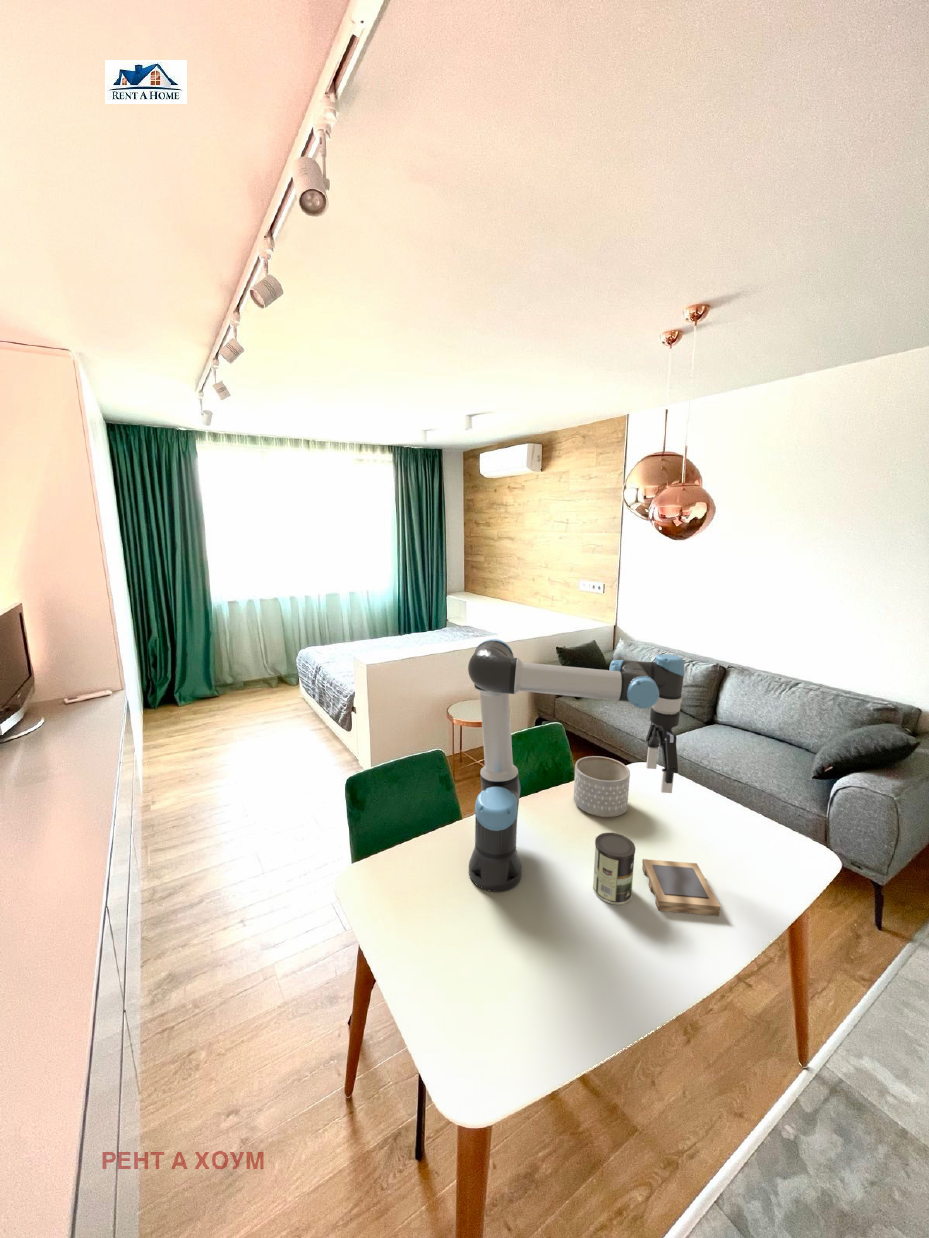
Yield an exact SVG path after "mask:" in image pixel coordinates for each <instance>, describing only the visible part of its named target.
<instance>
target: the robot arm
mask: <svg viewBox="0 0 929 1238" xmlns="http://www.w3.org/2000/svg"><path fill="white" fill-rule="evenodd" d="M467 668H468V669H467V671H468V675H469V679H470V680H471V682H472V683H473V684H474V685H473V686H474V689H475V690H477V692H479V696H480V697H479V698H480V710H481V711H480V713H481V727H482V728H481V729H482V743H483V745H482V746H483V757H484V758H483V759H484V761H483V762H484V766H483V767H482V768H480V772H479V773H480V787H481V788H480V789H481V790H480V791H481V792H480V793H478V795H477V797H476V799H475V806H474V813H475V827H474V828H475V829H474V832H475V834H474V835H475V836H474V842H475V843H474V849H473V850H472V853H471V857H470V858H469V862H468V876H470V877H469V879H470V878H471V879H472V880H473V882H474V883H476V884H477V885H478V886H480V887H482V888H483V889H482V888H481V889H482V890H484V889H486V890H485V891H487V890H490V891H489V892H495V893H496V892H506V891H509V890H512V889H513V888H515V887H516V886H517V885H519V883H520V881H521V879H522V871H523V870H522V863H521V860H520V857H519V853H518V851H517V830H518V829H517V827H518V826H517V825H518V814H519V805H520V796H521V791H522V789H521V783H520V782H521V781H520V780H519V779H520V778H519V769H518V767H517V766H516V765H514V762H513V761H514V760H513V747H512V745H513V742H512V728H511V725H512V724H511V710H510V708H511V706H510V695H517V694H518V693H519V692H529V693H538V694H548V695H557V696H558V695H559V696H566V697H567V696H568V697H577V698H587V699H597V700H598V699H599V700H607V701H609V700H610V701H616V702H626V703H630V704H631V705H633V706H634V707H636V708H638V709H648V708H651V709H650V713H649V714H650V715H649V721H650V725H649V729H648V732H647V735H646V738H645V741H646V743H647V746H648V747H647V756H646V766H645V767H646V769H652V770H656V769H657V767H658V766H657V765H658V764H657V763H658V753H659V748H660V747H661V752H662V753H661V754H662V761H663V767H664V768H662V769H661V772H662V774H661V784H660V785H661V787H660V792H661V793H662V794H672V793H673V788H674V787H673V785H674V776H675V775H674V774H679V765H678V751H677V749H678V748H677V735H676V734H674V733H673V728H675V727H678V726H679V723H680V716H681V715H680V711H681V704H682V703H683V699H682V694H683V693H682V692H683V686H684V678H685V660H684V659H683V658H682V657H681V656H679V655H675V654H668V653H664V654H657V655H656V656H655V659H654V661H639V660H626V659H618V660H617V659H615V660H614V659H613V660H612V661H611V662H610V665H609V670H608V669H596V668H589V667H588V668H586V667H577V666H565V665H558V664H557V665H556V664H555V665H554V664H544V663H534V662H523V661H522V660H521V659H520V657H519V658H518V657H515V656H514V653H513V651H512V648H511V647H510V645H509V644H508V643H506V642H505V641H503V640H500V639H497V638H489V639H486V640H485V641H483V642H481V643H479V644H478V645H477V646H476V648H475V650H474V653H473V654H472V656H471V657H470V659H469V662H468V666H467ZM471 879H470V880H471ZM472 880H471V881H472ZM473 882H472V883H473ZM474 883H473V884H474ZM477 885H476V886H477ZM478 886H477V887H478ZM480 887H479V888H480Z"/></svg>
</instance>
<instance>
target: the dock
mask: <svg viewBox="0 0 929 1238" xmlns="http://www.w3.org/2000/svg"><path fill="white" fill-rule="evenodd" d="M641 864H642V866H641V869H642V872H643V876H647V878H648V888H649V891H650V892H651V893H654V894H653V895H654V897H655V902H654V904H655V906H656V909H657V911H661V912H670V913H671V912H673V913H684V914H694V915H704V916H705V915H706V916H715V917H719V916H720V911H721V908H722V906H721V904H720V903H719V901H718V899H717V898H716V895H715V893H714V892H713V890H712V889H711V887H710V885H709V883H708V881H707V879H706V877H705V876H704V873H703V872H702V869H701V868H700V867H699V865H698V863H696V862H695V863H694V862H683V861H671V860H658V859H647V858H643V859H642V862H641Z"/></svg>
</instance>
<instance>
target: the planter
mask: <svg viewBox="0 0 929 1238" xmlns="http://www.w3.org/2000/svg"><path fill="white" fill-rule="evenodd" d="M630 772H631V771H630V769H629V768H628V766H627V765H625V764H624V763H623V762H622V761H619V760H617V759H614V758H612V757H611V758H610V757H606V756H599V755H597V756H596V755H595V756H594V755H592V756H591V755H590V756H585V757H582V758H579V759H578V760H577V761H576V762H575V764H574V781H573V783H574V784H573V801H574V803H575V805H576V806H577V807H578V808H580V810H583V812H586V813H587V814H590V815H591V816H595V817H599V818H600V817H601V818H612V817H617V816H620V815H622V814H624V813H625V812H626V811H627V810H628V806H629V805H628V804H629V802H628V801H629V791H630V777H631V773H630Z"/></svg>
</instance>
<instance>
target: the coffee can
mask: <svg viewBox="0 0 929 1238" xmlns="http://www.w3.org/2000/svg"><path fill="white" fill-rule="evenodd" d="M594 843H595V844H594V845H595V847H594V862H593V863H594V864H593V865H594V867H593V881H592V890H593V892H594V895H596V896H597V897H598V899H600V900H601V901H602V902H605V903H607V904H610V905H616V906H620V905H625V904H627V903H629V902H630V901H631V900H632V895H633V878H634V866H635V865H634V864H635V854H636V846H635V843H634V842H633V841H632V840H631V839H630V838H629V837H627V836H625V835H622V834H620V833H617V832H602V833H599V834H598V835H597V836H596V837H595V840H594Z"/></svg>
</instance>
